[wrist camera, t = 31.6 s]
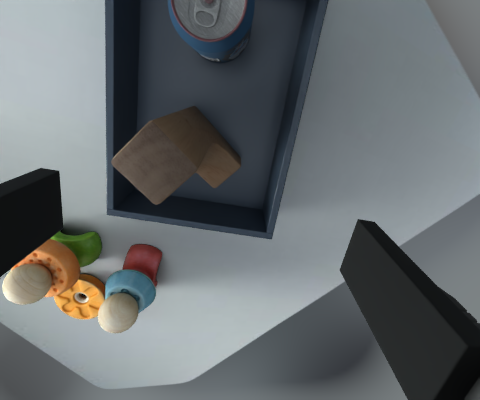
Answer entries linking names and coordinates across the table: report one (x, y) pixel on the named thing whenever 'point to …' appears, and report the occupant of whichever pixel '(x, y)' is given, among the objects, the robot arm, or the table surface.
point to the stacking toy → (86, 280)
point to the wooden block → (176, 154)
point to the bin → (211, 108)
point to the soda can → (214, 26)
